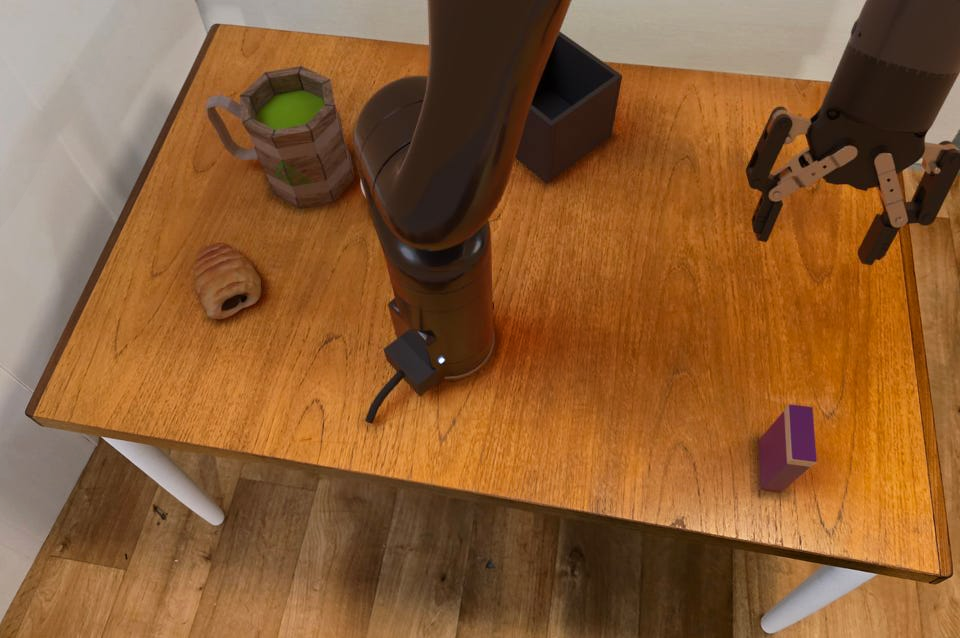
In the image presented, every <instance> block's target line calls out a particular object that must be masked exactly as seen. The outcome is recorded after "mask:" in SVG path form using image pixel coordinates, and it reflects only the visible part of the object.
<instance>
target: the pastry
mask: <svg viewBox="0 0 960 638" xmlns="http://www.w3.org/2000/svg"><path fill="white" fill-rule="evenodd" d="M192 268H193V277H194V282H193V286H194V291H195V292H196V293H197V295H198V296H197V297H198V300H199V302H200V304H201V305H202V307H203V308H204V309H205V312H206V316H207V317H209V319H212V320H224V319H226V318H228V317H231V316H234V315H235V314H236V313H238V312H239V311H241V310H242V309H243V308H248V307H250V306H252V305H254V304H256V303H257V302H258V300H259V299H260V297H261V295H262V279H261V277H260V275H259V274H258V272H257V271H256V269H255V268H254V266H253V264H252V262H251V261H249V259H247V258H246V256H244V255H243V254H242V253H241V252H240V251H238V250H236V249H234V248H233V247H232V246H231V245H230V244H228V243H226V242H222V241H221V242H214V243H211V244H208V245H203V246H200V248H199V250H198V251H197V253H196V254H195V258H194V261H193V265H192Z"/></svg>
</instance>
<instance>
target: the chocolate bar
mask: <svg viewBox="0 0 960 638" xmlns="http://www.w3.org/2000/svg"><path fill="white" fill-rule="evenodd" d="M815 432H816V431H815V419H814V408H813V406H807V405H798V404H792V403H791V404H790V403H789V404H787V405H786V406H785V408H784V409H783V411H782V412H781V413H780V414H779V416H778V417H777V418H776V419H775V420H774V421H773V423H772V424H771V425H770V426H769V428H768V429H766V431H765V432H764V433H763V435H762V436H761V437H760V438H759V439H758V457H759V482H760V483H759V484H760V485H759V486H760V490H761V491H768V492H769V491H771V492H776V493H783V492H784V491H785V490H786V489H788V488H789V487H790V486H791V485H792V484H793V483H794V482H796V480H797V479H799V478H800V477H801V476H802V475H803V474H804V473H806V472H807V471H809V469H810V468H812V467H814V466H815V465H816V464H817V462H818V460H817V450H816V449H817V447H816V434H815Z"/></svg>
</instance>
